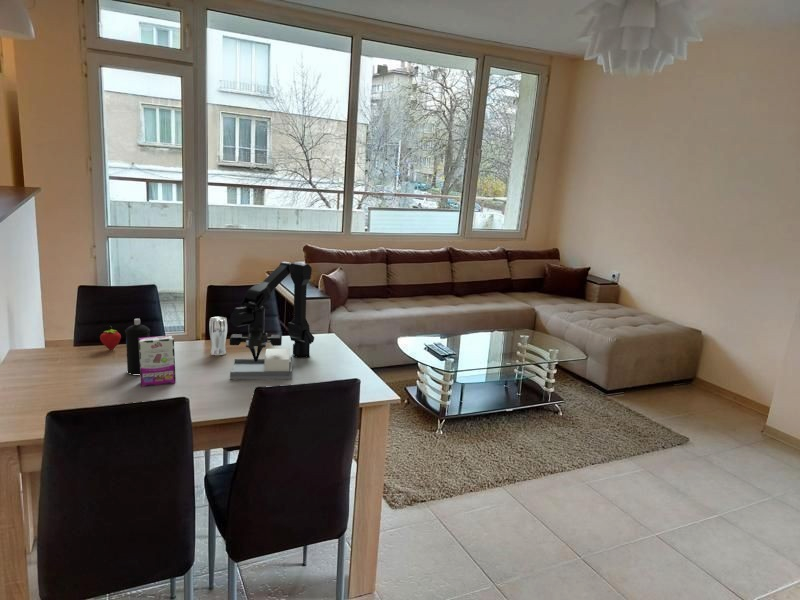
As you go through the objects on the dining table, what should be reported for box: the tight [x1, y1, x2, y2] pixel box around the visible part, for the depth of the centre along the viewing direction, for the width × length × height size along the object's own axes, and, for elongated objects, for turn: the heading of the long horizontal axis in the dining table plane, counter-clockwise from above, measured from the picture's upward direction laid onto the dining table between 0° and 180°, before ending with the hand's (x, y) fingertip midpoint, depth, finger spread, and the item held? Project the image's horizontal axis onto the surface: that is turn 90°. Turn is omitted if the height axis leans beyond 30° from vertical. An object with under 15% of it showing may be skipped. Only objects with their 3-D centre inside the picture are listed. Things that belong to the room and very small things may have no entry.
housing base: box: [229, 356, 293, 380], centre depth 204 cm, size 22×16×3 cm
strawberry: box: [99, 326, 122, 351], centre depth 215 cm, size 6×8×10 cm
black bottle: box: [124, 318, 151, 374], centre depth 194 cm, size 8×8×20 cm
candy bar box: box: [139, 334, 177, 387], centre depth 185 cm, size 11×5×16 cm, turn 117°
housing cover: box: [263, 348, 291, 371], centre depth 204 cm, size 9×13×6 cm
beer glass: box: [208, 316, 228, 357], centre depth 219 cm, size 7×7×15 cm
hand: (255, 361), depth 202 cm, fingers closed
